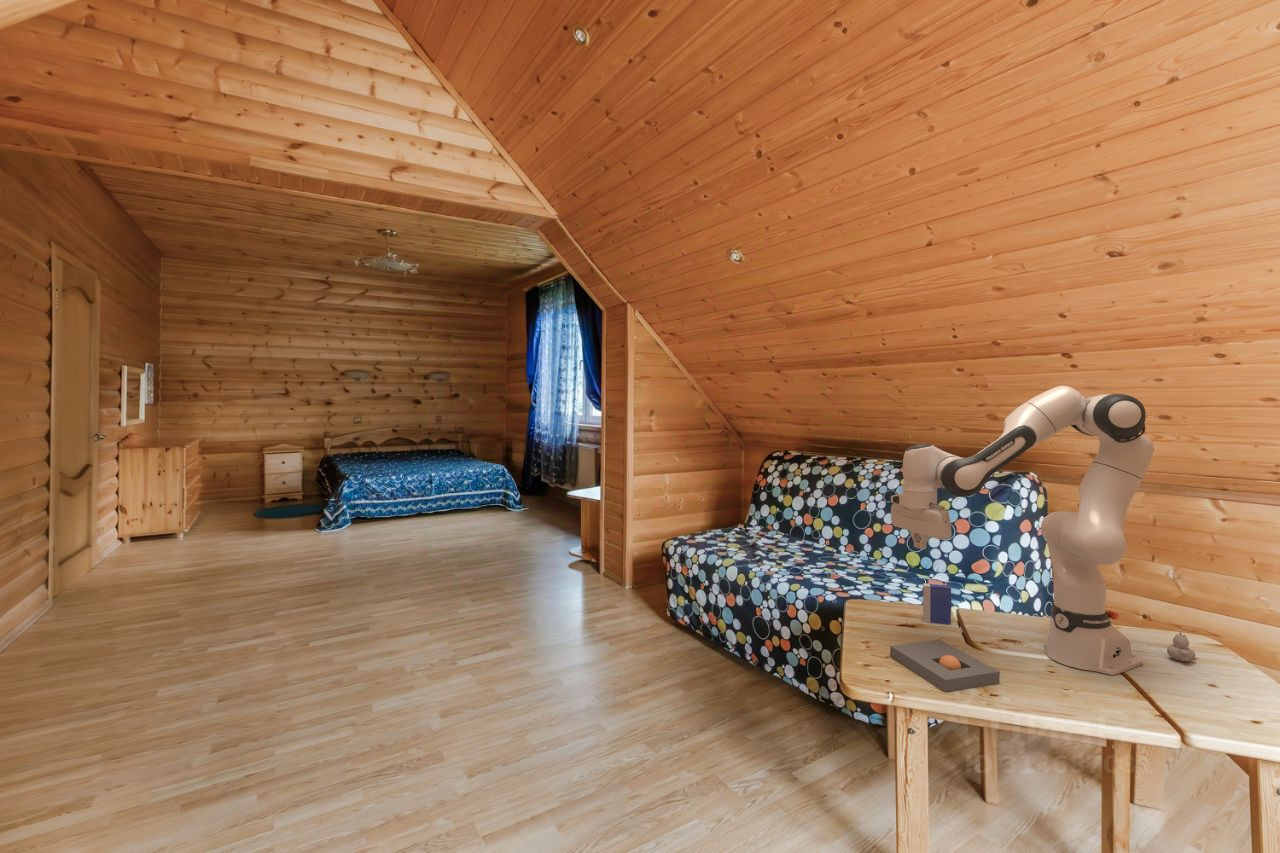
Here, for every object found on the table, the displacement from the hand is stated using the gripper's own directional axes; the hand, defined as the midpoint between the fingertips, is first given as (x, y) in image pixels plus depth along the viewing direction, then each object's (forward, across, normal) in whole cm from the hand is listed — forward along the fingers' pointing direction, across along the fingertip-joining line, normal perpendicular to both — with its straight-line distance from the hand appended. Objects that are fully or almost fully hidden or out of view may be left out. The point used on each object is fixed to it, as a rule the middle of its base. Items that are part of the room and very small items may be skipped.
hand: (920, 548), depth 166 cm
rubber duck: (+29, -29, -57) cm, 70 cm away
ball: (+25, -19, +7) cm, 32 cm away
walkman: (+28, +11, -16) cm, 34 cm away
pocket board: (+28, -15, +7) cm, 32 cm away
